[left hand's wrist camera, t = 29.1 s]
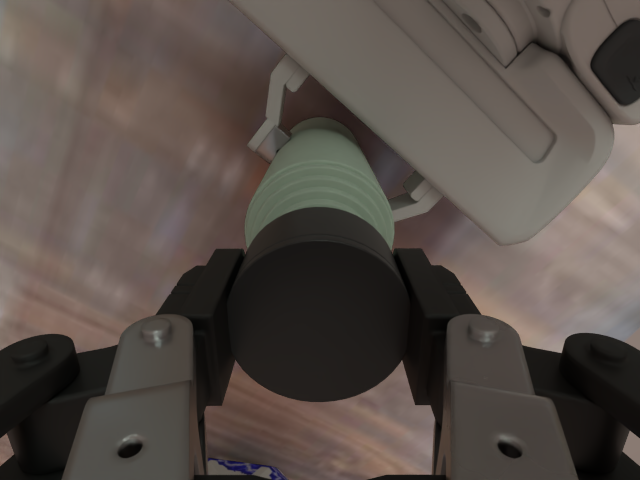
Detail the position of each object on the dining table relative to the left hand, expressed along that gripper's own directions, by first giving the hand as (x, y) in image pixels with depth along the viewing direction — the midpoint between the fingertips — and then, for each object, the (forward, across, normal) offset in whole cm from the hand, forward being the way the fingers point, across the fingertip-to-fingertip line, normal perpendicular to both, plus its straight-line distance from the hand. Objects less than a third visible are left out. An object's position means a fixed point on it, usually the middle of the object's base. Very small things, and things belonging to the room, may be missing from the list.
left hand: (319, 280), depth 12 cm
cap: (-2, 0, 0) cm, 2 cm away
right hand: (+11, -1, -1) cm, 11 cm away
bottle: (+17, 0, 0) cm, 17 cm away
